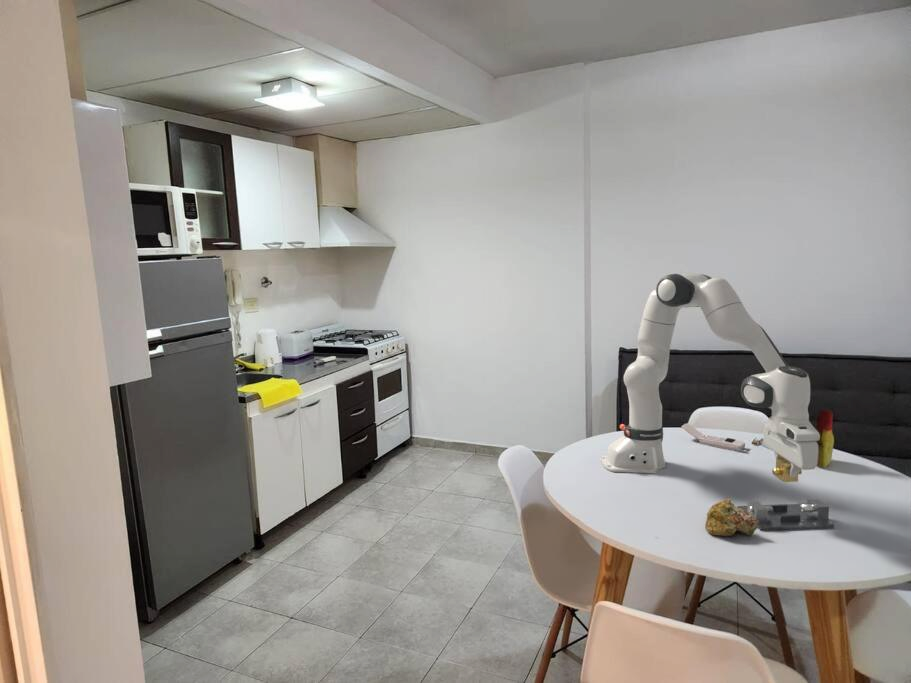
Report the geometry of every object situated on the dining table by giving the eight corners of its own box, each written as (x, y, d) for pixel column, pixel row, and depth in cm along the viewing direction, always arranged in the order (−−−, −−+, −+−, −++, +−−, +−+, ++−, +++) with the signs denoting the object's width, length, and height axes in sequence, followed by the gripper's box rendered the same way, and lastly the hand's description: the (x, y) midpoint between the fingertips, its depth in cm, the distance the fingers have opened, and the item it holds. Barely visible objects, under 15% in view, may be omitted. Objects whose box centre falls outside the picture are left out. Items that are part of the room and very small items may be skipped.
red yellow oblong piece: (830, 471, 192) (834, 414, 189) (808, 467, 196) (812, 411, 193) (833, 460, 201) (837, 406, 198) (812, 456, 205) (816, 403, 202)
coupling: (777, 482, 157) (778, 463, 156) (769, 476, 161) (770, 458, 160) (803, 481, 157) (804, 462, 156) (795, 475, 161) (796, 457, 160)
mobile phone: (686, 422, 231) (751, 434, 214) (685, 436, 232) (751, 449, 215) (679, 426, 227) (746, 439, 209) (679, 440, 228) (745, 454, 210)
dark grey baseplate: (759, 530, 155) (760, 513, 154) (736, 509, 168) (737, 493, 167) (835, 528, 155) (836, 510, 154) (805, 506, 168) (806, 490, 167)
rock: (742, 549, 155) (763, 522, 152) (730, 555, 149) (752, 527, 146) (705, 518, 162) (725, 491, 159) (693, 523, 156) (713, 496, 153)
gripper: (758, 414, 167) (756, 459, 169) (800, 437, 147) (797, 487, 149) (779, 414, 167) (777, 458, 169) (824, 436, 147) (821, 486, 149)
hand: (786, 472), depth 159 cm, fingers closed on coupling, 4 cm apart
